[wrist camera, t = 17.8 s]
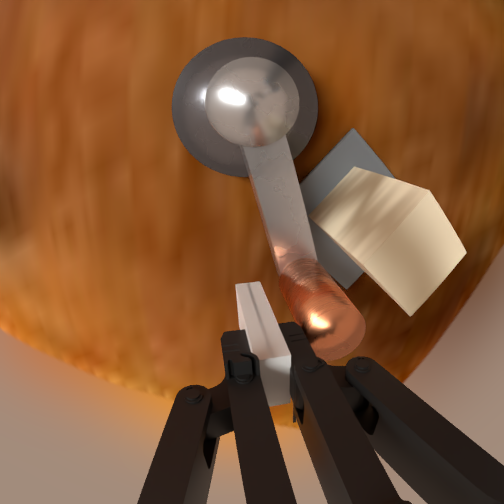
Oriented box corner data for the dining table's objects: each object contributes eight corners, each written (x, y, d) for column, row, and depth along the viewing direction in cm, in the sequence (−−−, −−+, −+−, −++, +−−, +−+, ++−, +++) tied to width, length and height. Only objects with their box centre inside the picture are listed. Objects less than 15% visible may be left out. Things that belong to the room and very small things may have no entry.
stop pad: (351, 128, 21) (353, 128, 21) (416, 209, 24) (418, 210, 24) (267, 217, 23) (268, 218, 23) (345, 287, 26) (346, 289, 26)
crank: (194, 78, 17) (187, 42, 9) (275, 57, 17) (319, 15, 9) (264, 296, 23) (293, 375, 15) (331, 273, 23) (385, 339, 15)
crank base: (239, 21, 18) (242, 12, 16) (333, 108, 21) (344, 106, 19) (147, 115, 19) (141, 113, 17) (247, 199, 22) (251, 206, 21)
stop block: (354, 166, 22) (429, 190, 14) (391, 211, 24) (466, 252, 16) (307, 215, 23) (363, 265, 15) (349, 257, 25) (410, 316, 16)
